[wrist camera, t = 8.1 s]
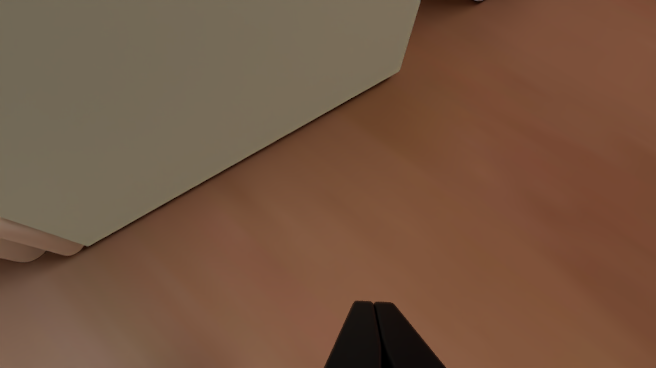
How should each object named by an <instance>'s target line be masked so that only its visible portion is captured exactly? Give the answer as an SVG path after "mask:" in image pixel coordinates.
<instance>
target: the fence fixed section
mask: <svg viewBox="0 0 656 368" xmlns="http://www.w3.org/2000/svg"><path fill="white" fill-rule="evenodd" d="M45 251H46V250H42V249H39V248H35V247H31V246H28V245H24V244H20V243H17V242H13V241H9V240H6V239H2V238H0V258H2V259H7V260H12V261H16V262H30V261H33V260H35V259H37V258H39V257H40V256H41V255H43V254H44V253H45Z"/></svg>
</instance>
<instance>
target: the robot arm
mask: <svg viewBox="0 0 656 368" xmlns="http://www.w3.org/2000/svg"><path fill="white" fill-rule="evenodd" d="M324 368H446V367H445V366H444V365H443V363H442V362H441V361H440V360H439V358H438V357H437V356H436V355H435V354H434V352H433V351H432V350H431V349H430V347H429V346H428V345H427V344H426V343H425V341H424V340H423V339H422V338H421V336H420V335H419V334H418V333H417V332H416V330H415V329H414V328H413V327H412V325H411V324H410V323H409V322H408V321H407V319H406V318H405V317H404V316H403V314H402V313H401V312H400V311H399V309H398V308H397V307H396V306H395V305H394V304H393V303H391V302H375V303H374V304H373V303H372V302H371V301H355V302H354V303H353V305H352V307H351V309H350V311H349V313H348V316H347V318H346V320H345V322H344V324H343V327H342V329H341V331H340V333H339V336H338V338H337V340H336V342H335V344H334V347H333V349H332V351H331V353H330V355H329V358H328V360H327V362H326V364H325V367H324Z"/></svg>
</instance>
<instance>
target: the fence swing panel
mask: <svg viewBox="0 0 656 368" xmlns="http://www.w3.org/2000/svg"><path fill="white" fill-rule="evenodd" d="M420 2H421V0H0V238H2V239H6V240H9V241H13V242H17V243H20V244H24V245H28V246H31V247H35V248H39V249H42V250H46V251H50V252H53V253H57V254H61V255H65V256H70V255H74V254H76V253H77V252H79V251H80V250H81V249H82V248H83V246H84V245H85V246H90V245H92V244H94V243H95V242H97V241H99V240H101V239H102V238H104V237H106V236H108V235H110V234H111V233H113V232H115V231H117V230H118V229H120V228H122V227H124V226H126V225H127V224H129V223H131V222H133V221H134V220H136V219H138V218H140V217H141V216H143V215H145V214H147V213H149V212H150V211H152V210H154V209H156V208H157V207H159V206H161V205H163V204H165V203H166V202H168V201H170V200H172V199H173V198H175V197H177V196H179V195H181V194H182V193H184V192H186V191H188V190H189V189H191V188H193V187H195V186H197V185H198V184H200V183H202V182H204V181H205V180H207V179H209V178H211V177H212V176H214V175H216V174H218V173H220V172H221V171H223V170H225V169H227V168H228V167H230V166H232V165H234V164H236V163H237V162H239V161H241V160H243V159H244V158H246V157H248V156H250V155H252V154H253V153H255V152H257V151H259V150H260V149H262V148H264V147H266V146H268V145H269V144H271V143H273V142H275V141H276V140H278V139H280V138H282V137H283V136H285V135H287V134H289V133H291V132H292V131H294V130H296V129H298V128H299V127H301V126H303V125H305V124H307V123H308V122H310V121H312V120H314V119H315V118H317V117H319V116H321V115H323V114H324V113H326V112H328V111H330V110H331V109H333V108H335V107H337V106H339V105H340V104H342V103H344V102H346V101H347V100H349V99H351V98H353V97H354V96H356V95H358V94H360V93H362V92H363V91H365V90H367V89H369V88H370V87H372V86H374V85H376V84H378V83H379V82H381V81H383V80H385V79H386V78H388V77H390V76H392V75H394V74H395V73H397V72H399V71H400V68H401V65H402V61H403V58H404V55H405V51H406V48H407V45H408V41H409V38H410V35H411V31H412V28H413V25H414V21H415V18H416V15H417V11H418V8H419V5H420Z"/></svg>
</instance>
